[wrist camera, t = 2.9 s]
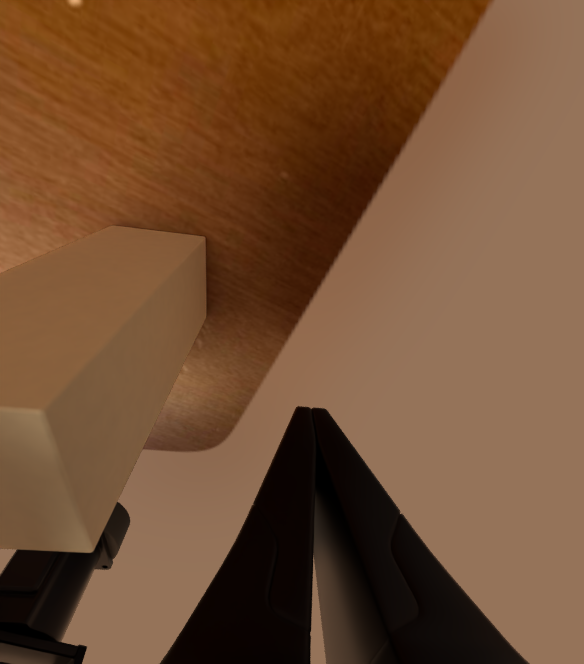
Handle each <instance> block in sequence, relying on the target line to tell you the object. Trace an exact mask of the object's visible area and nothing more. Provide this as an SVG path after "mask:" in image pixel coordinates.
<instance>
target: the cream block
mask: <svg viewBox="0 0 584 664" xmlns="http://www.w3.org/2000/svg"><path fill="white" fill-rule="evenodd" d="M206 317H207V316H206V238H205V237H204V236H196V235H188V234H180V233H172V232H164V231H156V230H148V229H140V228H131V227H123V226H115V225H111V226H109V227H106V228H104V229H102V230H99V231H97V232H95V233H93V234H90V235H88V236H86V237H83V238H81V239H79V240H76V241H74V242H72V243H69V244H67V245H65V246H62V247H60V248H58V249H55V250H53V251H51V252H49V253H46V254H44V255H42V256H39V257H37V258H35V259H32V260H30V261H28V262H25V263H23V264H21V265H18V266H16V267H14V268H11V269H9V270H7V271H5V272H2V273H0V548H1V549H20V550H41V551H61V552H82V553H91V552H93V551H94V549H95V547H96V545H97V543H98V540H99V538H100V536H101V534H102V532H103V530H104V528H105V526H106V524H107V522H108V520H109V518H110V516H111V514H112V511H113V509H114V507H115V505H116V503H117V501H118V499H119V497H120V495H121V493H122V491H123V489H124V487H125V484H126V482H127V480H128V478H129V476H130V474H131V472H132V470H133V468H134V466H135V464H136V462H137V459H138V458H139V455H140V453H141V451H142V449H143V447H144V445H145V443H146V441H147V439H148V437H149V435H150V433H151V431H152V429H153V426H154V424H155V422H156V420H157V418H158V416H159V414H160V412H161V410H162V408H163V406H164V404H165V402H166V400H167V397H168V395H169V393H170V391H171V389H172V387H173V385H174V383H175V381H176V379H177V377H178V375H179V373H180V371H181V368H182V366H183V364H184V362H185V360H186V358H187V356H188V354H189V352H190V350H191V348H192V346H193V344H194V342H195V339H196V337H197V335H198V333H199V331H200V329H201V327H202V325H203V323H204V321H205V319H206Z"/></svg>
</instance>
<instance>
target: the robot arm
mask: <svg viewBox="0 0 584 664" xmlns="http://www.w3.org/2000/svg"><path fill="white" fill-rule="evenodd" d="M313 553H314V560H315V570H316V577H317V587H318V596H319V603H320V611H321V621H322V630H323V638H324V647H325V654H326V664H529V663H528V662H527V661H526V660H525V659H524V658H523V657H522V656H521V655H520V654H519V653H518V652H517V651H516V650H515V649H514V648H513V647H512V646H511V645H510V643H509V642H508V641H507V640H506V639H505V638H504V637H503V636H502V635H501V633H500V632H499V631H498V630H497V629H496V628H495V626H494V625H493V624H492V623H491V622H490V621H489V619H488V618H487V617H486V616H485V615H484V614H483V612H482V611H481V610H480V609H479V608H478V607H477V606H476V604H475V603H474V602H473V601H472V600H471V599H470V597H469V596H468V595H467V594H466V593H465V592H464V590H463V589H462V588H461V587H460V586H459V585H458V583H456V581H455V580H454V579H453V578H452V577H451V575H450V574H449V573H448V572H447V570H446V569H445V568H444V567H443V566H442V565H441V563H440V562H439V561H438V560H437V558H436V557H435V556H434V555H433V554H432V552H431V551H430V550H429V549H428V547H427V546H426V545H425V543H424V542H423V541H422V539H421V538H420V537H419V536H418V534H417V533H416V532H415V530H414V529H413V528H412V526H411V525H410V524H409V522H408V521H407V519H406V518H405V517H404V515H403V514H400V510H399V509H398V507H397V506H396V504H395V503H394V502H393V500H392V499H391V498H390V496H389V495H388V494H387V492H386V491H385V490H384V488H383V487H382V485H381V484H380V482H379V481H378V480H377V478H376V477H375V476H374V474H373V473H372V472H371V470H370V469H369V468H368V466H367V465H366V463H365V462H364V461H363V459H362V458H361V457H360V455H359V454H358V452H357V451H356V449H355V448H354V447H353V445H352V444H351V443H350V441H349V440H348V438H347V437H346V436H345V435H344V433H343V432H342V430H341V429H340V428H339V426H338V425H337V423H336V422H335V421H334V419H333V418H332V417H331V416H330V414H329V412H328V411H327V410H326V409H322V408H312V409H310V408H309V407H299V406H298V407H296V409H295V411H294V413H293V416H292V418H291V420H290V422H289V425H288V427H287V429H286V431H285V433H284V436H283V438H282V440H281V442H280V445H279V447H278V449H277V452H276V454H275V456H274V458H273V460H272V463H271V465H270V467H269V469H268V472H267V474H266V476H265V478H264V480H263V483H262V485H261V487H260V489H259V492H258V494H257V496H256V498H255V501H254V503H253V505H252V507H251V509H250V511H249V514H248V516H247V518H246V520H245V522H244V524H243V526H242V529H241V530H240V533H239V535H238V537H237V539H236V541H235V543H234V544H233V546H232V548H231V550H230V551H229V553H228V555H227V557H226V558H225V560H224V562H223V564H222V566H221V567H220V569H219V571H218V572H217V574H216V575H215V577H214V579H213V580H212V582H211V584H210V585H209V587H208V589H207V590H206V592H205V594H204V596H203V597H202V598H201V600H200V602H199V603H198V605H197V607H196V608H195V610H194V612H193V613H192V615H191V617H190V618H189V620H188V622H187V623H186V625H185V627H184V628H183V630H182V631H181V633H180V634H179V636H178V637H177V639H176V641H175V642H174V644H173V645H172V647H171V648H170V650H169V651H168V653H167V654H166V656H165V657H164V658H163V660H162V661H161V663H160V664H310V642H311V636H310V632H311V613H312V612H311V611H312V581H313V580H312V579H313ZM112 564H113V561H112V557H111V554H110V551H109V547H108V544H107V541H106V538H105V534H104V531H103V532H102V534H101V536H100V538H99V540H98V543H97V545H96V547H95V549H94V551H93V552H91V553H82V552H61V551H41V550H20V549H17V550H16V552H15V553H14V555H13V556H12V558H11V559H10V561H9V562H8V564H7V565H6V567H5V568H4V570H3V571H2V573H1V574H0V664H82V662H83V658H84V655H85V652H86V649H87V647H86V646H83V645H78V646H75V645H71V644H66V643H62V642H61V641H62V639H63V637H64V635H65V632H66V630H67V628H68V626H69V624H70V622H71V619H72V617H73V615H74V613H75V611H76V608H77V606H78V604H79V602H80V600H81V597H82V595H83V593H84V591H85V589H86V587H87V585H88V582H89V580H90V578H91V576H92V573H93V571H94V569H102V570H108V569H110V568H111V566H112Z"/></svg>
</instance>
